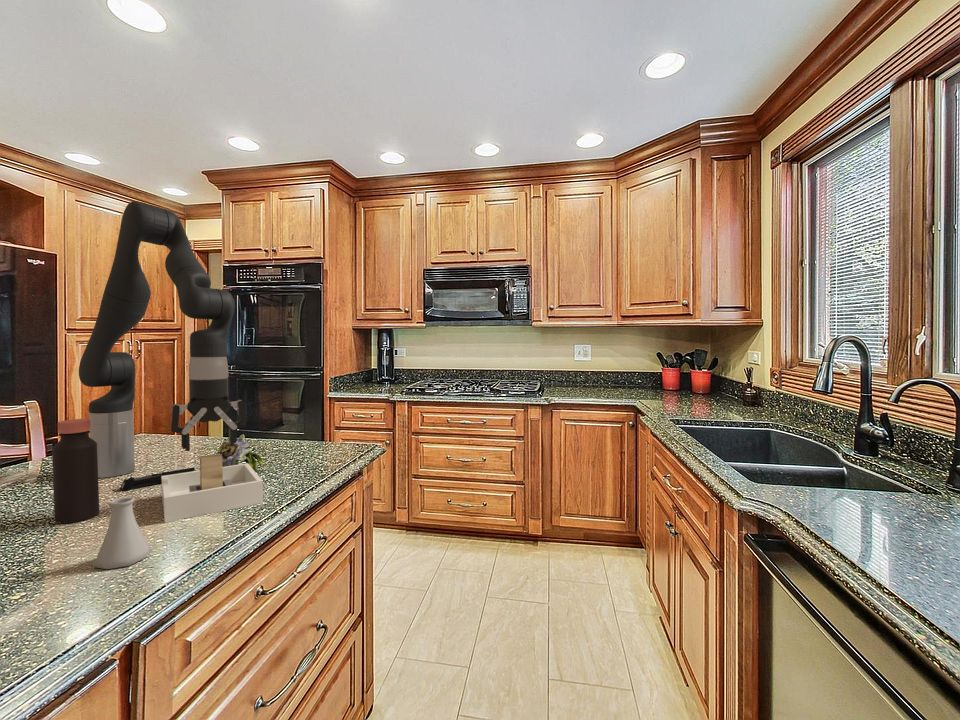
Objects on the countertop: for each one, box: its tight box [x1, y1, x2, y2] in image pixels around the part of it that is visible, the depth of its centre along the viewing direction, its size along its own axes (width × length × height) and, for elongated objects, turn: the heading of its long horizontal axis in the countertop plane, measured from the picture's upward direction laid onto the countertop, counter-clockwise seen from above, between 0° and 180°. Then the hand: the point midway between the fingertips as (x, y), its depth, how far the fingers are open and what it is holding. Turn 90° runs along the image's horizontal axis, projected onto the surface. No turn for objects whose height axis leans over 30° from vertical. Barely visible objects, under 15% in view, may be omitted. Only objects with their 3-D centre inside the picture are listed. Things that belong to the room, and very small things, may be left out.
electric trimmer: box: [119, 467, 196, 492], centre depth 112 cm, size 4×16×3 cm, turn 135°
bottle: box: [51, 418, 100, 524], centre depth 90 cm, size 7×7×20 cm
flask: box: [93, 496, 152, 570], centre depth 73 cm, size 7×7×10 cm
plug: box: [199, 453, 223, 490], centre depth 100 cm, size 4×4×9 cm
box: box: [161, 462, 264, 523], centre depth 100 cm, size 18×18×5 cm
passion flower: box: [215, 433, 268, 473], centre depth 124 cm, size 11×11×12 cm
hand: (209, 447), depth 100 cm, fingers open, 8 cm apart
